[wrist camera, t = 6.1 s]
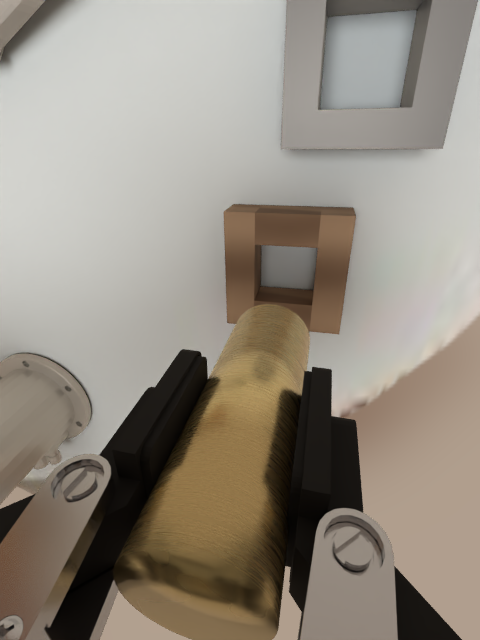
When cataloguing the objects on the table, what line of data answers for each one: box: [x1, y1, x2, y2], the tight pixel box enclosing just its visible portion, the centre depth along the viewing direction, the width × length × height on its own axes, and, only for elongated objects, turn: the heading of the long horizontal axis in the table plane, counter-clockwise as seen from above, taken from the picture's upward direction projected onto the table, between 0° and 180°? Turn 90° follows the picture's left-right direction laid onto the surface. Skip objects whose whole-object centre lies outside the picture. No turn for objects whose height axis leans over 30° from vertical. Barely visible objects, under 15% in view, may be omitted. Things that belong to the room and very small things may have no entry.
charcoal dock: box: [281, 0, 478, 149], centre depth 20 cm, size 9×9×4 cm
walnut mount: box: [224, 204, 356, 334], centre depth 27 cm, size 9×9×3 cm
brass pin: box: [113, 304, 310, 640], centre depth 10 cm, size 3×3×9 cm
